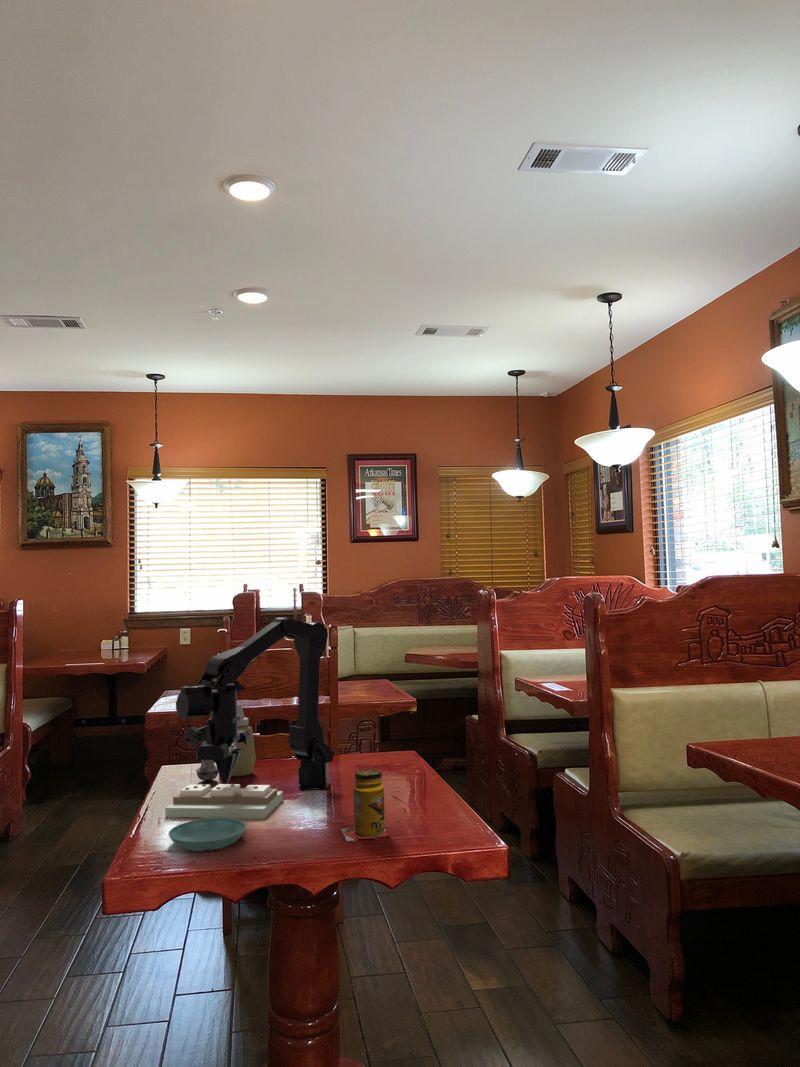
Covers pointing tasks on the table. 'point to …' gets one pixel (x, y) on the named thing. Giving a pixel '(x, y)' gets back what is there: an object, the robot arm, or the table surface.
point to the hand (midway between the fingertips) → (225, 783)
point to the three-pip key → (195, 790)
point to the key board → (224, 806)
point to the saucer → (207, 833)
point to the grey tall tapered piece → (207, 772)
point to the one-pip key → (255, 791)
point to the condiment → (368, 805)
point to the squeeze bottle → (244, 748)
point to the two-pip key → (225, 790)
